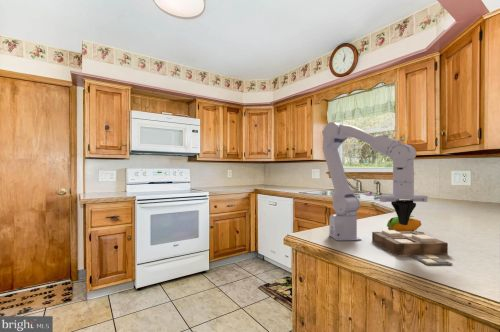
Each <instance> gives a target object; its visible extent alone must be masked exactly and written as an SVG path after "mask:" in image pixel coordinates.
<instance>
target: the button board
mask: <svg viewBox="0 0 500 332" xmlns="http://www.w3.org/2000/svg"><path fill="white" fill-rule="evenodd" d="M416 231H417V230H415V231H410V232H400V233H402V234H414V235H425V234H424V233H421V232H418V231H417V232H416ZM371 233H372V234H371V237H372V239H371V242H372V243H373V244H376V245H377V246H379V247H381V248H383V249H385V250H386V251H387V252H390V253H391V254H393V255H395V256H410V255H435V256H439V255H441V256H442V255H445V256H446V255H448V254H449V252H448V248H449V247H448V244H449V243H448V242H445V241H443V240H440V239H437V238H435V242H419V241H417V240H415V239H412V237H407V236H405V235H402V237H388V236H386V235H384V234H382V231H371ZM395 239H407V240H410V241H412V242H407V243H401V242H399V241H397V240H395Z"/></svg>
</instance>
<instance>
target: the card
mask: <svg viewBox="0 0 500 332" xmlns="http://www.w3.org/2000/svg"><path fill="white" fill-rule="evenodd" d="M409 256H410V257H411V258H412V259H414V260H416V261H418V262H419V263H422V264H424V265H426V266H428V267H429V266H453V263H452V262H450V261H447V260H445V259H443V258H441V257H440V256H438V255H409Z"/></svg>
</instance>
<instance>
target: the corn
mask: <svg viewBox="0 0 500 332" xmlns="http://www.w3.org/2000/svg"><path fill="white" fill-rule="evenodd" d="M421 226H422V222H421V220H419V219H416V218H415V216H414V215H410V218H409V221H408V224H407V225H402V224H399V220H398V216H395V217H391V218H390V219H389V220H388V221H387V224H386V227H387V230H395V231H397V232H410V231H416V232H418V229H419V228H420V227H421Z"/></svg>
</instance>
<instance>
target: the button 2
mask: <svg viewBox="0 0 500 332" xmlns="http://www.w3.org/2000/svg"><path fill="white" fill-rule="evenodd" d="M395 240H397V241H399V242H401V243H407V242H412V241H410V240H407V239H395Z"/></svg>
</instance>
